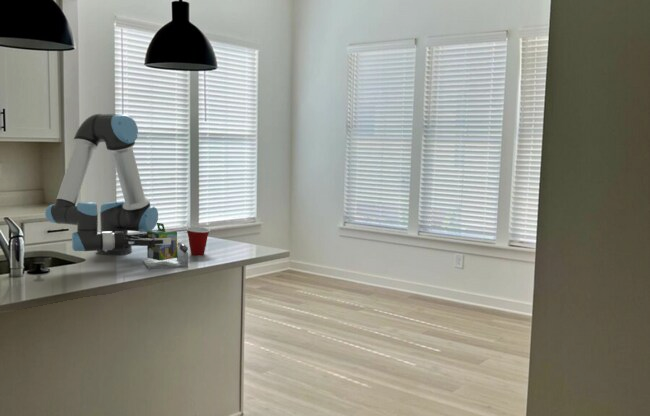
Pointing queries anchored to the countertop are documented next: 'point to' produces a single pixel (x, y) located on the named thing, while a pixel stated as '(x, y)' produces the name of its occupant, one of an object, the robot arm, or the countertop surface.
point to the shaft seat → (170, 260)
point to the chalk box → (162, 250)
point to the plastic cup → (197, 239)
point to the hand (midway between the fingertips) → (168, 238)
